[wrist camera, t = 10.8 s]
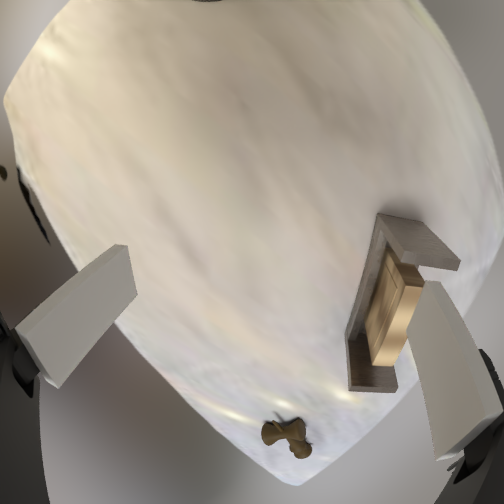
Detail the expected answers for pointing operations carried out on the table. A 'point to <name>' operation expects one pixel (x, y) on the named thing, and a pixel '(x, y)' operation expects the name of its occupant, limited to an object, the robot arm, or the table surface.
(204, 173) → the table surface
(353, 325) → the grey u-shaped piece
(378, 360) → the door panel
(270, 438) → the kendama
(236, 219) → the table surface
